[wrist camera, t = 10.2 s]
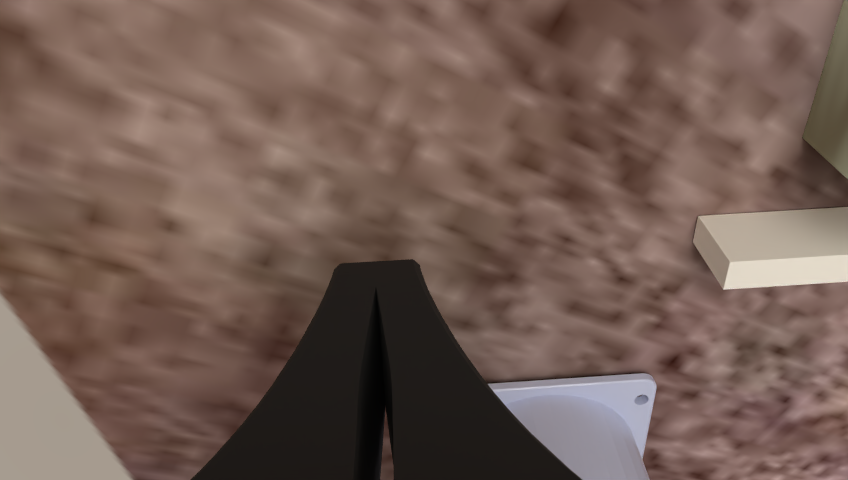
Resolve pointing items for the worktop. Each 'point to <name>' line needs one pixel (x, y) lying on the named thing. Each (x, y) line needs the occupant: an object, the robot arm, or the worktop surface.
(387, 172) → the worktop surface
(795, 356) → the worktop surface
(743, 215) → the block
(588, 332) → the worktop surface
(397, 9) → the worktop surface
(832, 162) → the block
